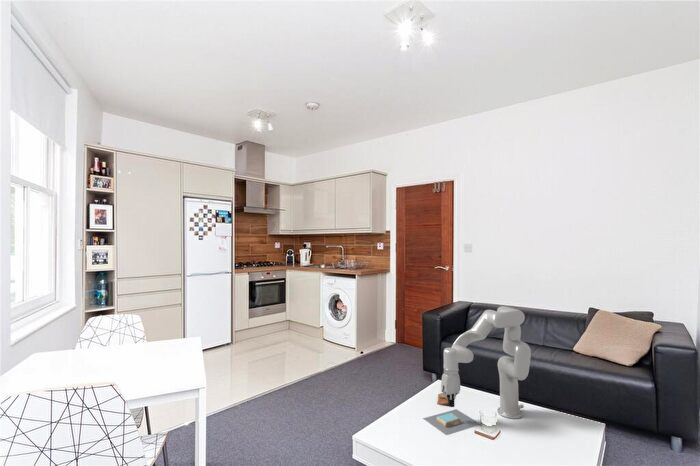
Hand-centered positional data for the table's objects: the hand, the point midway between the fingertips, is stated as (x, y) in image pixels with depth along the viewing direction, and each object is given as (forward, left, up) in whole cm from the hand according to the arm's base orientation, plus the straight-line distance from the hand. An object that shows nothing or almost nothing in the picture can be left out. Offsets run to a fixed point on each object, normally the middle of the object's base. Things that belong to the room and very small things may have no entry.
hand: (451, 405), depth 189 cm
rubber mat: (0, 0, -9) cm, 9 cm away
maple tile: (-3, 0, -7) cm, 7 cm away
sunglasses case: (-14, -22, -10) cm, 28 cm away
